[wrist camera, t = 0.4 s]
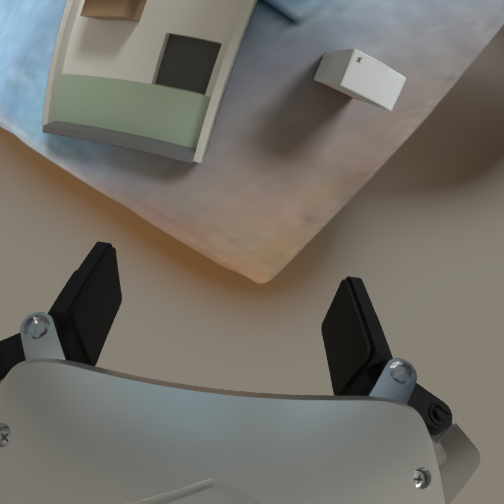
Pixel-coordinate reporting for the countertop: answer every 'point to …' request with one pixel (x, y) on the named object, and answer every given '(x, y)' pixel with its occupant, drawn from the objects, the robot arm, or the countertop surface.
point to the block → (113, 9)
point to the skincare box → (360, 77)
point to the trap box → (145, 75)
